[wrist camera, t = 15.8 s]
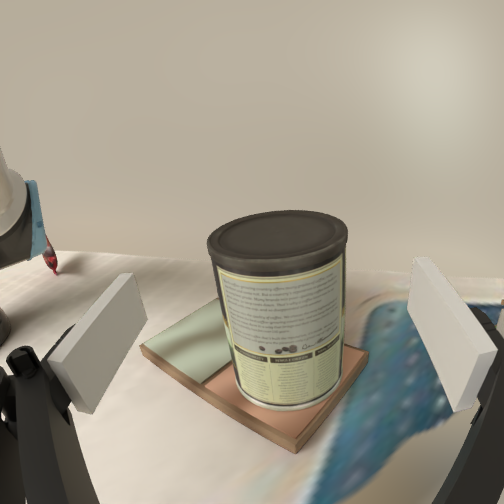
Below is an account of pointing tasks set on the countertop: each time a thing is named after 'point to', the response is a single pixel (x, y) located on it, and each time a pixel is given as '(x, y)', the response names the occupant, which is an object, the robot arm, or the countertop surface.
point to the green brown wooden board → (223, 377)
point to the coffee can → (283, 304)
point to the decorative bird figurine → (50, 257)
